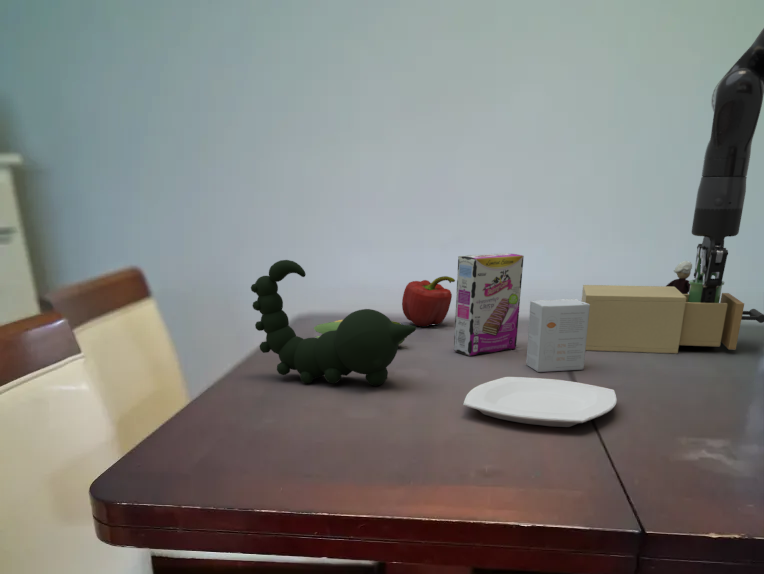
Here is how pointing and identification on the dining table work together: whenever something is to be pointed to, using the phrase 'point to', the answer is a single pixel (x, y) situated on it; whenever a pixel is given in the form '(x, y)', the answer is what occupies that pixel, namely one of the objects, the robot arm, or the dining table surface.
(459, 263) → the candy bar box
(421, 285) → the vegetable
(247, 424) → the dining table surface
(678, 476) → the dining table surface
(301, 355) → the toy figurine
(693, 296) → the pot
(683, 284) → the grandmother figurine
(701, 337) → the drawer
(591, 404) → the plate
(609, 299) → the cabinet
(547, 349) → the small box
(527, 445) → the dining table surface
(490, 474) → the dining table surface
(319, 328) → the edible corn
